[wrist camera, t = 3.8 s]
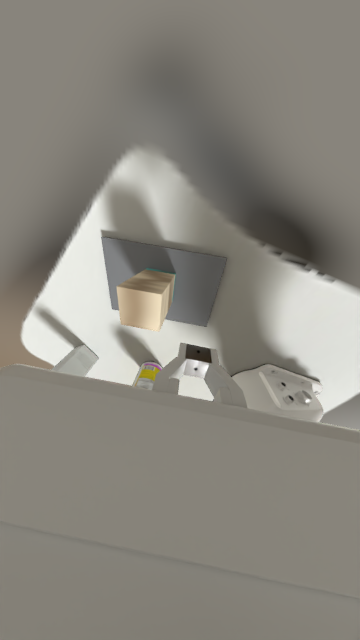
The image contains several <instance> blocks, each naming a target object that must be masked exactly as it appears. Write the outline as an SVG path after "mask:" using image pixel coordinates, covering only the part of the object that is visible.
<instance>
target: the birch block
mask: <svg viewBox="0 0 360 640" xmlns="http://www.w3.org/2000/svg"><path fill="white" fill-rule="evenodd" d="M175 279H176V273H172V272H166V271H161V270H155V269H149V268H147V269H145V270H143V271H142V272H140V273H138V274H137V275H135V276H133V277H131V278H130V279H128V280H126V281H125V282H123V283H121V284H120V285H118V286H116V287H117V296H118V304H119V313H120V321H121V324H122V325H127V326H132V327H137V328H142V329H148V330H153V331H158V332H159V331H160V329H161V326H162V324H163V322H164V319H165V317H166V315H167V313H168V310H169V308H170V306H171V303H172V301H173V295H174V287H175Z"/></svg>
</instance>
